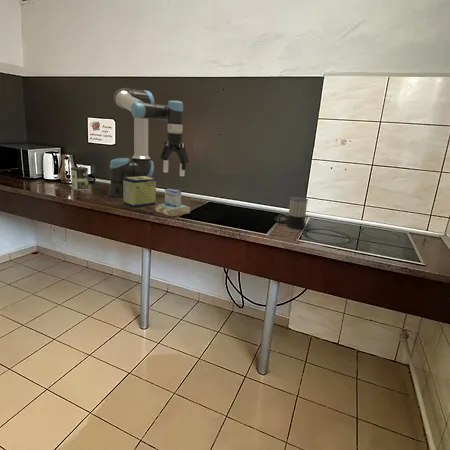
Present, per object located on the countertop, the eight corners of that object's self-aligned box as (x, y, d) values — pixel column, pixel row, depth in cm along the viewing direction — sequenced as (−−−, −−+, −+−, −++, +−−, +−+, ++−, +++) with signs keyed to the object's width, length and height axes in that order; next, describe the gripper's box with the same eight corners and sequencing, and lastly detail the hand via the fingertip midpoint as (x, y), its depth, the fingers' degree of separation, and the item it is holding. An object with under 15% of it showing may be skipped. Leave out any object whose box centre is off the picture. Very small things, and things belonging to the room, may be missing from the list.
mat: (157, 205, 180) (157, 204, 180) (173, 203, 188) (173, 202, 188) (171, 210, 173) (171, 209, 173) (187, 207, 181) (187, 206, 181)
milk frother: (304, 230, 166) (308, 201, 162) (272, 226, 169) (276, 197, 165) (304, 223, 179) (307, 196, 175) (274, 219, 182) (278, 192, 178)
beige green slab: (155, 210, 181) (155, 205, 180) (173, 207, 191) (173, 202, 190) (171, 216, 172) (171, 210, 172) (190, 213, 182) (190, 207, 181)
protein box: (156, 204, 195) (156, 178, 191) (133, 207, 184) (133, 180, 180) (145, 201, 202) (145, 175, 198) (122, 204, 191) (122, 177, 186)
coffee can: (91, 188, 227) (90, 167, 223) (84, 191, 217) (83, 169, 213) (76, 187, 227) (75, 166, 223) (69, 189, 217) (67, 168, 213)
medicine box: (164, 205, 180) (164, 189, 178) (169, 203, 184) (170, 188, 182) (176, 207, 177) (176, 191, 174) (181, 206, 181) (181, 190, 178)
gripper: (154, 131, 175) (153, 171, 181) (185, 134, 159) (183, 178, 165) (165, 131, 180) (164, 170, 186) (196, 134, 165) (194, 177, 171)
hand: (173, 174), depth 176 cm, fingers open, 13 cm apart
